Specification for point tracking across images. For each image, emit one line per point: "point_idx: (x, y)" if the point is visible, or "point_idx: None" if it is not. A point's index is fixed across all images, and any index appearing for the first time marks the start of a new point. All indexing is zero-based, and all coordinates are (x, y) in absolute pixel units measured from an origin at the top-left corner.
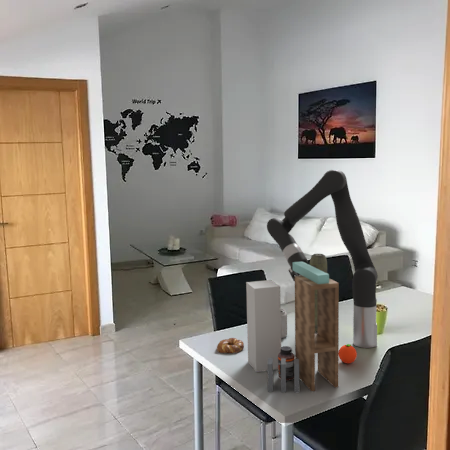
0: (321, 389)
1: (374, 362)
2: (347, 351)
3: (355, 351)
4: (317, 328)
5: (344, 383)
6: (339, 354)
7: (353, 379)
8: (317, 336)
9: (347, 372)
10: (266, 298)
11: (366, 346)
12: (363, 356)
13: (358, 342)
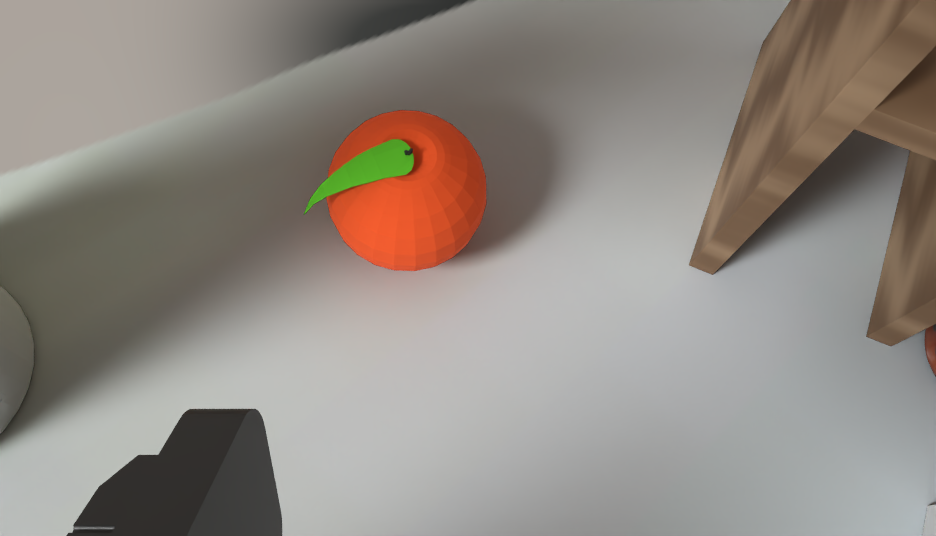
0: None
1: (251, 97)
2: (458, 135)
3: (381, 114)
4: (909, 71)
5: (692, 48)
6: (479, 219)
7: (601, 43)
8: (928, 57)
9: (548, 125)
10: None
11: (6, 292)
12: (204, 212)
13: (15, 351)
